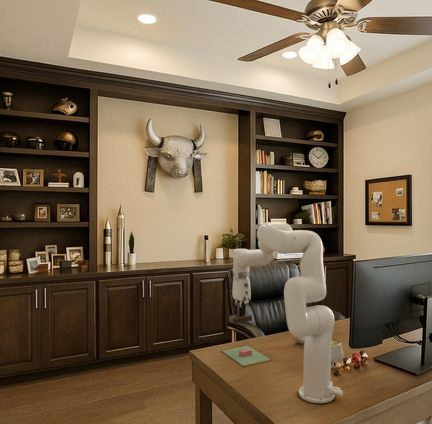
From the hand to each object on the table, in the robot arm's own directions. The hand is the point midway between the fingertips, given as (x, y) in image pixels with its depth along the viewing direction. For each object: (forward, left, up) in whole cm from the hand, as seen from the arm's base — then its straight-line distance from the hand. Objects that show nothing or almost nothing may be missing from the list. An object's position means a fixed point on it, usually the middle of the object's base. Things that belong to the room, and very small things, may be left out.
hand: (240, 314), depth 181 cm
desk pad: (-5, +5, -17) cm, 18 cm away
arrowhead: (-45, +1, -17) cm, 48 cm away
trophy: (-33, -13, -17) cm, 39 cm away
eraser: (-5, +5, -16) cm, 18 cm away
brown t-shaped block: (0, 0, -3) cm, 3 cm away
